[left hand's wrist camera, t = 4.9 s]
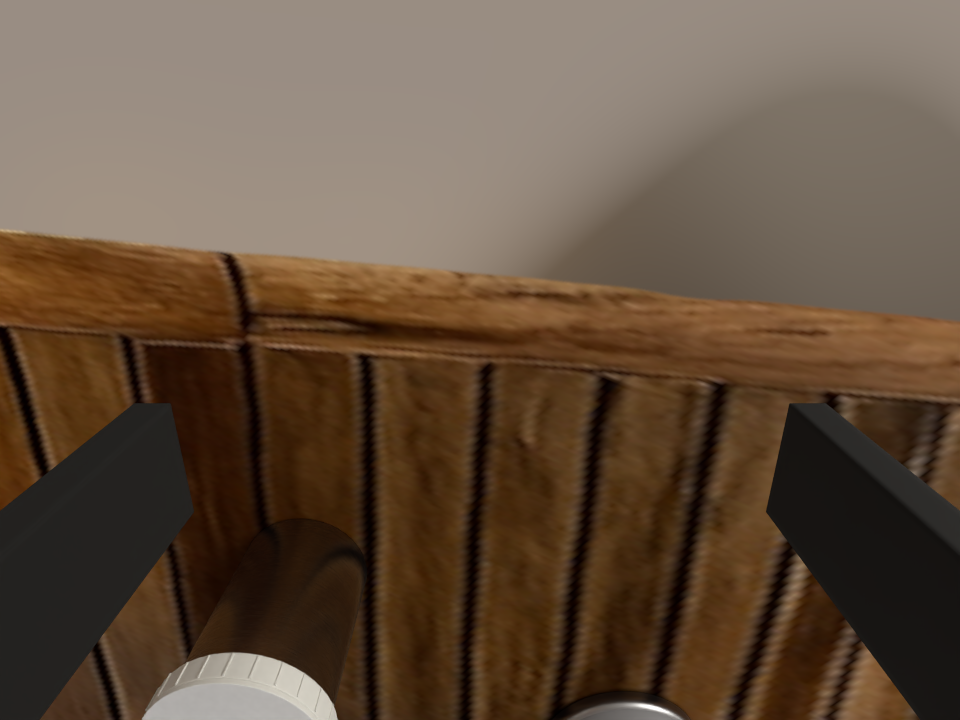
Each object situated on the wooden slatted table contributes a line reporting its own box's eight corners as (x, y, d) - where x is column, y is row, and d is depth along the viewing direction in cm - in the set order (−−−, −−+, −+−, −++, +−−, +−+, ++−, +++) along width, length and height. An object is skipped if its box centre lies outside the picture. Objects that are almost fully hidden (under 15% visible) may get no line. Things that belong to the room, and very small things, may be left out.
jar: (362, 620, 51) (318, 806, 37) (246, 607, 50) (157, 791, 37) (371, 526, 47) (325, 693, 33) (245, 511, 47) (146, 675, 33)
